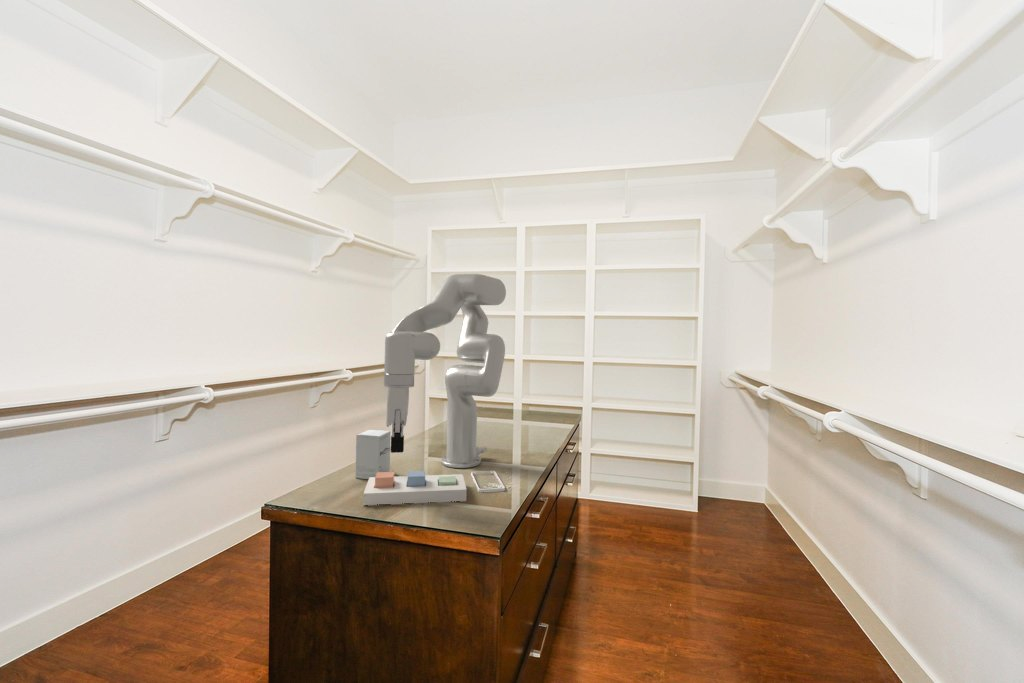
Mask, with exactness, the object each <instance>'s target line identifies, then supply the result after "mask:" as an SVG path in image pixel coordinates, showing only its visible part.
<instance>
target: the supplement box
mask: <svg viewBox="0 0 1024 683" xmlns="http://www.w3.org/2000/svg"><path fill="white" fill-rule="evenodd" d="M355 444H356V445H355V478H356V479H364V480H369V477H376V474H377V472H391V470H390V468H391V465H390V464H391V430H383V429H382V430H381V429H379V430H378V429H367V430H365V431H363V432H360V433H359V434H356V441H355Z"/></svg>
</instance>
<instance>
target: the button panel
mask: <svg viewBox="0 0 1024 683" xmlns="http://www.w3.org/2000/svg"><path fill="white" fill-rule="evenodd" d="M446 476H455V477H456V485H445V486H439V477H446ZM362 501H363V503H362V504H363V505H368V506H380V505H379V504H391V505H405V504H404V503H414V504H431V503H430V502H437V503H451V501H452V503H456V501H460V502H467V486H466V483H465V478H464V474H462V473H461V474H460V473H459V474H433V475H432V474H429V475H428V474H427V475H426V474H425V486H418V487H408V475H400V476H395V475H394V487H391V488H375V477H369V479H367V482H366V485H365V487H364V491H363V500H362ZM454 501H455V502H454ZM428 502H429V503H428ZM402 503H403V504H402ZM377 504H378V505H377Z"/></svg>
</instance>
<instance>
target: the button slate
mask: <svg viewBox="0 0 1024 683" xmlns="http://www.w3.org/2000/svg"><path fill="white" fill-rule="evenodd" d="M425 475H426V470H408V471H407V476H408V487H418V486H425Z"/></svg>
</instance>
